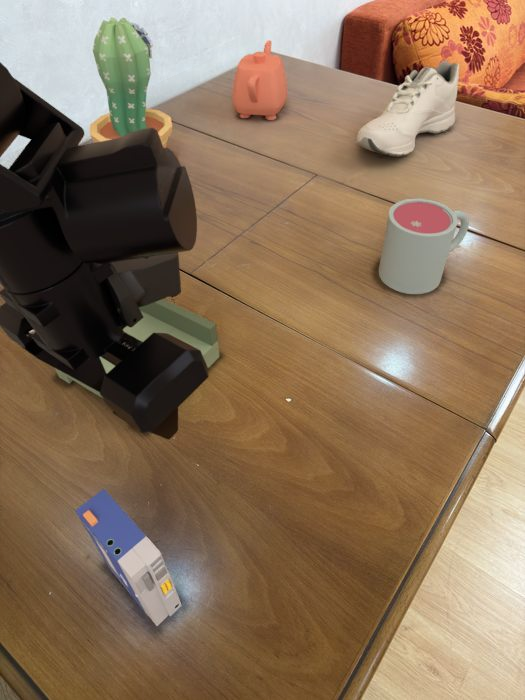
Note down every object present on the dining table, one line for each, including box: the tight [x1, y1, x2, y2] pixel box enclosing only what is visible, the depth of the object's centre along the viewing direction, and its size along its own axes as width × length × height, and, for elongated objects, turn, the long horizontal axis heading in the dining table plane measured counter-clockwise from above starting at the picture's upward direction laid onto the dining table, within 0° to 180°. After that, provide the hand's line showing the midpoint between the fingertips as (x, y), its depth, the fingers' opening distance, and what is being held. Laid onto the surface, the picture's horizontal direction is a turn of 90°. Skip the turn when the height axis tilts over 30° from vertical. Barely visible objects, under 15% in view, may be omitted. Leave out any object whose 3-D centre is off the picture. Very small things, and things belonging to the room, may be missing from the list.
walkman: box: [74, 488, 182, 627], centre depth 46 cm, size 8×3×12 cm, turn 45°
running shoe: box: [355, 60, 460, 158], centre depth 105 cm, size 11×30×13 cm, turn 139°
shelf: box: [54, 298, 221, 399], centre depth 66 cm, size 14×15×6 cm
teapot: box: [232, 40, 288, 121], centre depth 117 cm, size 20×12×12 cm, turn 169°
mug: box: [378, 198, 470, 295], centre depth 77 cm, size 14×9×10 cm
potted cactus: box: [89, 17, 173, 148], centre depth 96 cm, size 15×15×25 cm
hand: (136, 410), depth 45 cm, fingers open, 9 cm apart
